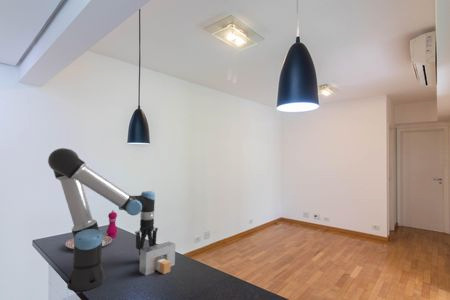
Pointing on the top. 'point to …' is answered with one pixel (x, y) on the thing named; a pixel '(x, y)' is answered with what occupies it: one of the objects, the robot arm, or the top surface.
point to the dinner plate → (105, 241)
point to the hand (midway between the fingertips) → (145, 259)
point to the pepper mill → (112, 225)
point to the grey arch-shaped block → (150, 253)
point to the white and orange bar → (162, 265)
